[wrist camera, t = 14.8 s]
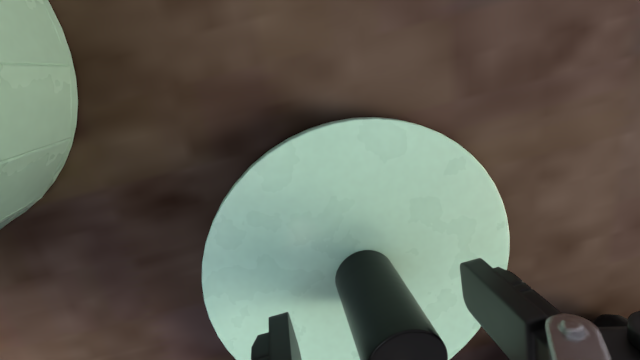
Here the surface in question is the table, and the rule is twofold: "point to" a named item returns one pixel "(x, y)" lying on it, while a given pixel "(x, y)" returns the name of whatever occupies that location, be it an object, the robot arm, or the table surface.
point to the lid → (354, 243)
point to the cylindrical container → (33, 103)
